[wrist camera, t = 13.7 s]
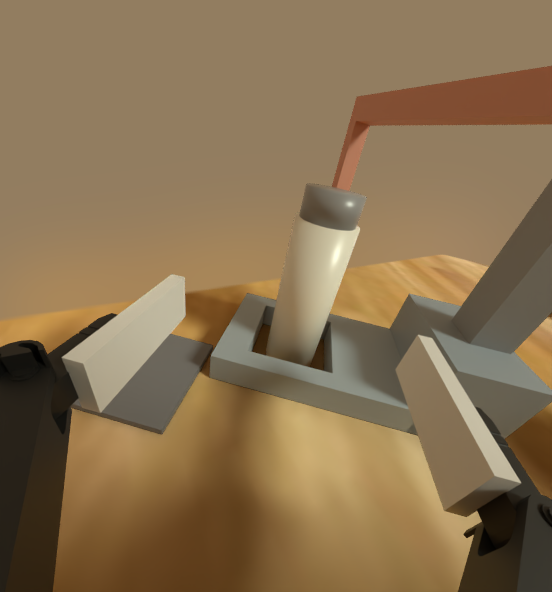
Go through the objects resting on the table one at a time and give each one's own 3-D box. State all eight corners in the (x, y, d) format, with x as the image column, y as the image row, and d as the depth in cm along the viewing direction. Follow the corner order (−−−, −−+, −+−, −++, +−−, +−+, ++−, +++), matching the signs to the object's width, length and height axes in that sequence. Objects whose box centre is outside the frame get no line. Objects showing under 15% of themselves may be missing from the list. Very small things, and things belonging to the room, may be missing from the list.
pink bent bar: (584, 279, 15) (801, 55, 10) (558, 280, 14) (795, 19, 8) (347, 192, 35) (375, 103, 29) (326, 189, 33) (352, 95, 28)
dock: (433, 359, 27) (598, 137, 16) (485, 453, 18) (924, 110, 7) (244, 310, 28) (277, 75, 17) (209, 377, 19) (228, -10, 9)
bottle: (312, 344, 25) (365, 193, 17) (310, 378, 21) (377, 203, 13) (270, 333, 25) (304, 180, 18) (260, 364, 21) (298, 186, 14)
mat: (212, 349, 22) (212, 345, 22) (161, 434, 15) (161, 430, 15) (132, 327, 22) (131, 323, 22) (48, 400, 16) (45, 395, 15)
